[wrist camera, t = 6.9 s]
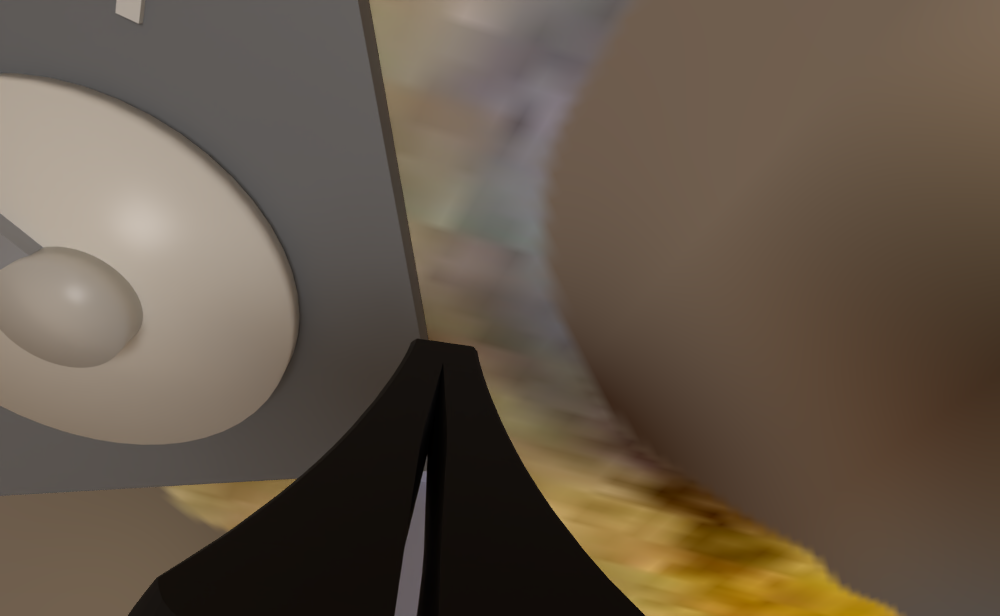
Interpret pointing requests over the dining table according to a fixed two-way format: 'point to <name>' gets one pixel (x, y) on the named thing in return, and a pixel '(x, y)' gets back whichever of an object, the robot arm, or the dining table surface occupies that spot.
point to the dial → (130, 274)
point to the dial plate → (277, 193)
